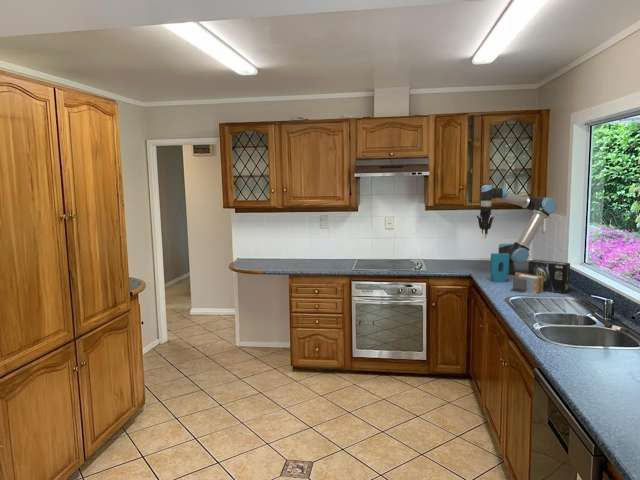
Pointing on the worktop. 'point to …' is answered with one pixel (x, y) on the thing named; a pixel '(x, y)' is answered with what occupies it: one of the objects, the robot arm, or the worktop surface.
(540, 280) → the wooden stepped piece
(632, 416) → the worktop surface
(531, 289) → the book
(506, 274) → the block
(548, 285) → the box
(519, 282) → the bookend
